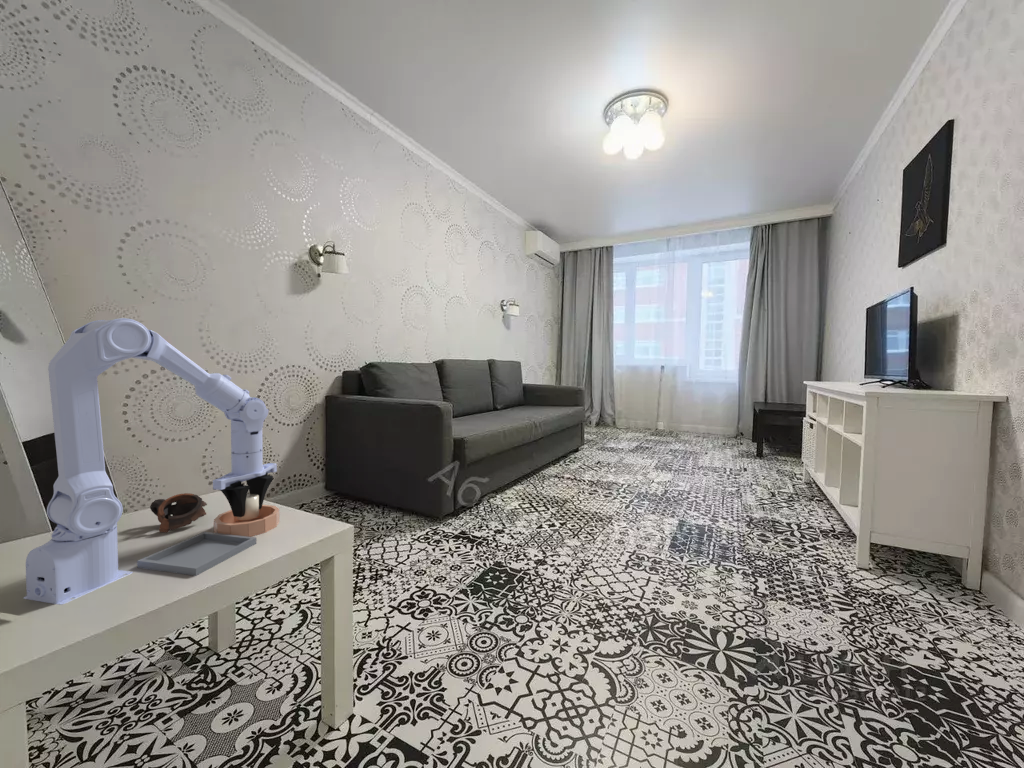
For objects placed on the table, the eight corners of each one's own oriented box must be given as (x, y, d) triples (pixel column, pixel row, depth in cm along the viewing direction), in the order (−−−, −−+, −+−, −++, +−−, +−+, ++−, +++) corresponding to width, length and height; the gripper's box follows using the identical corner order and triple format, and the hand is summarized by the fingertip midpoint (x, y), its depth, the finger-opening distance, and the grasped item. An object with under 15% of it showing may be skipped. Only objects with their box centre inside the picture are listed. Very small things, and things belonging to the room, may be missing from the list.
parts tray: (196, 579, 66) (196, 568, 66) (137, 570, 69) (137, 560, 69) (256, 546, 79) (256, 537, 79) (204, 540, 81) (204, 531, 81)
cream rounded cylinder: (248, 521, 84) (248, 500, 84) (232, 519, 85) (232, 498, 84) (263, 514, 88) (263, 494, 88) (248, 512, 89) (247, 493, 88)
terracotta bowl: (248, 544, 80) (248, 527, 79) (200, 538, 82) (200, 521, 82) (290, 522, 91) (290, 507, 91) (247, 517, 93) (247, 503, 93)
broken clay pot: (219, 518, 94) (216, 494, 90) (188, 551, 86) (183, 527, 82) (168, 506, 93) (162, 481, 89) (131, 538, 85) (124, 513, 81)
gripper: (233, 460, 78) (234, 527, 78) (287, 445, 92) (288, 502, 93) (203, 457, 79) (204, 523, 80) (262, 444, 93) (262, 500, 94)
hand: (247, 512), depth 86 cm, fingers closed on cream rounded cylinder, 4 cm apart
